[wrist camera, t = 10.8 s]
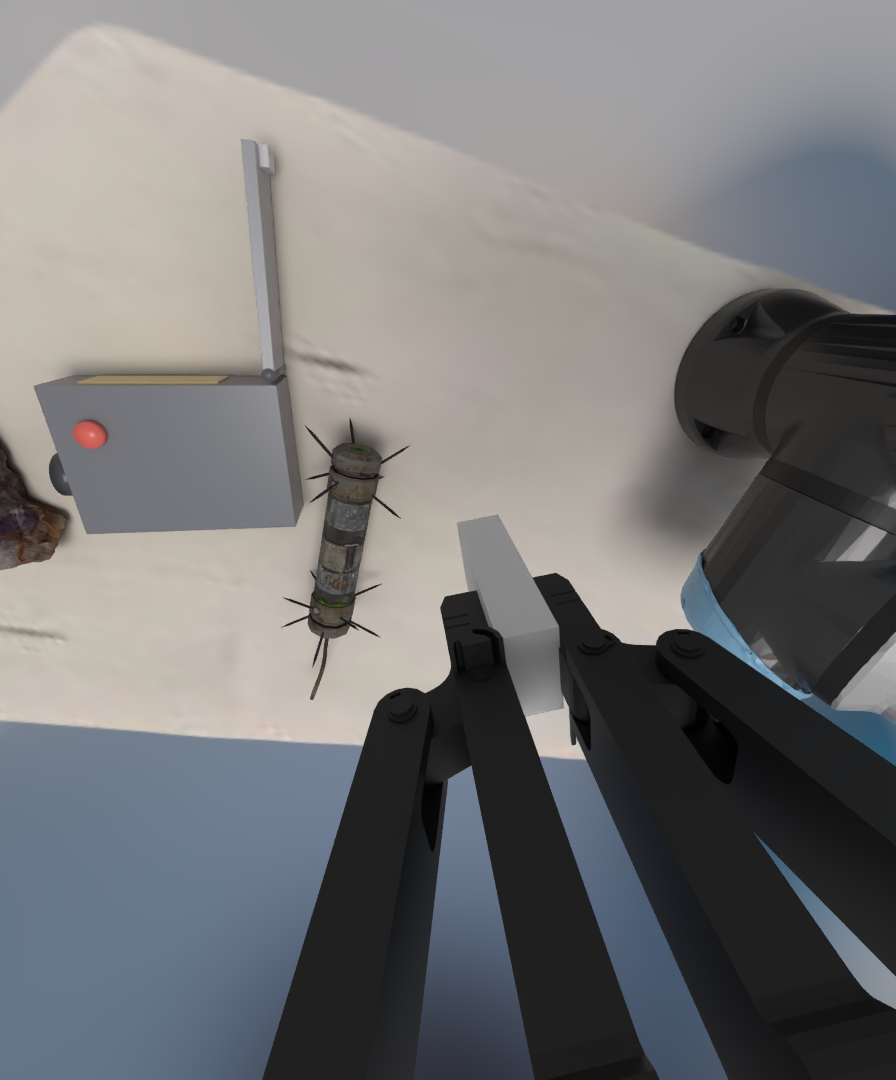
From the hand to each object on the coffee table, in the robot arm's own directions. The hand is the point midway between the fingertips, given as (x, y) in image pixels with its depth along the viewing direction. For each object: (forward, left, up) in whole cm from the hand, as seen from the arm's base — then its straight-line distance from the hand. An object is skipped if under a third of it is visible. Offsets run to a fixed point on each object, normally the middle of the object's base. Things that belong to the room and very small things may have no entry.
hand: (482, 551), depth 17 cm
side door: (+11, -10, -29) cm, 33 cm away
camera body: (+20, +4, -29) cm, 36 cm away
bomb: (+8, +16, -30) cm, 35 cm away
